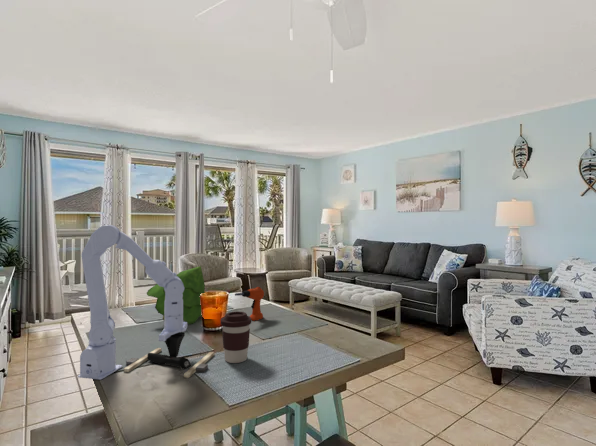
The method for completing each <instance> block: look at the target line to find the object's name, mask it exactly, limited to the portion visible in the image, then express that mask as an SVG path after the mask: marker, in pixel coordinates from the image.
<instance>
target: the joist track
mask: <svg viewBox="0 0 596 446" xmlns="http://www.w3.org/2000/svg"><path fill="white" fill-rule="evenodd" d="M161 352H162V348H161V347H157V348H155V349H153V350H152V351H150V352H149V353H155V354H160V353H161ZM214 356H215V352H214V351H209V352H208V353H207V354H205V356H203V357H202V358H201V359H200V360H198V361H197V362H196V363H195V364H194V365H192V367H189V369H188V370H187V371H186V372H184V374H183V378H187V379H189V378H190V377H191V376H193V375H194V374H195V373H196V372H197V373H198V372H199V373H204V372H205V371H206V370H208V368H209V364H207V362H208V361H209V360H211V359H212V358H213V357H214ZM146 361H149V360H148V353H146V354H145V355H143V356H142V357H140V358H137V357H132V358H130V359H128V360H126V361H125V365H126V367H124V368H123V372H124V373H130V372H131V371H133V370H135V369H136V368H138V367H139V366H140V365H142V364H144V363H146Z"/></svg>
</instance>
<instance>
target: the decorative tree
mask: <svg viewBox="0 0 596 446" xmlns="http://www.w3.org/2000/svg"><path fill="white" fill-rule="evenodd" d="M176 274H177V275H176V276H178V277H179V278H180V279H181V281H182V282H183V285H184V287H185V288H184V291H183V293H182V294H183V298H182V299H183V322H187V325H188V326H189V325H191V326H192V325H194V324H195V323H196V321H197V320H199V318H200V317H202V315H201V305H200V297H199V296H200V294H201V293H205V294H206V292H205V291H206V290H205V289H206V288H205V287H206V286H205V285H206V284H205V279H204V275H203V270H202V266H201V265H200V266H197V267H193V268H190V269H186V270H183V271H179V272H178V273H176ZM146 295H147V296H148V297H153V298H155V299H156V302H155V306H154V308H155V310H156V311H157V313H158V314H160V315H161V316H162V320H163V321H164V301H165V290H164V287H161V286H159V285H158V284H157V283H155V285H153V286H152V287H150V288H149V289H148V290H147V292H146Z"/></svg>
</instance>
